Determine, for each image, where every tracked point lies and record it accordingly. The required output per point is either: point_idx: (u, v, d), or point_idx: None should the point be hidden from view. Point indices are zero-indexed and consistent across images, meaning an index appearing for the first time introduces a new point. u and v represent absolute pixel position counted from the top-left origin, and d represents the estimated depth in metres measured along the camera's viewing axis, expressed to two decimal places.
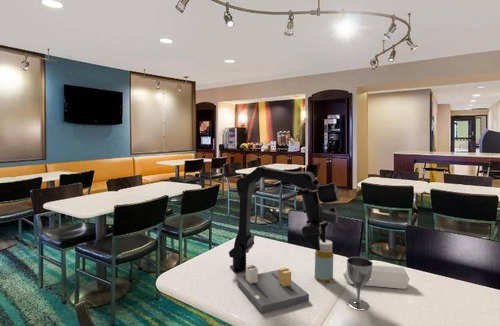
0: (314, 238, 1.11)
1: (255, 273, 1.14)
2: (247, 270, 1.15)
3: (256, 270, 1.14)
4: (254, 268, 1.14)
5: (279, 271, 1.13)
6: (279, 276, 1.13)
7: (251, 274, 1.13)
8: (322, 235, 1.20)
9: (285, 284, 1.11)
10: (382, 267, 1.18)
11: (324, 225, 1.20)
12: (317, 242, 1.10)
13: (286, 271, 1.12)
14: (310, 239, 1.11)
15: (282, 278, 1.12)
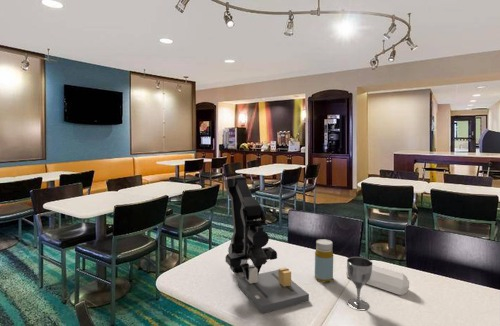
0: (244, 267, 1.14)
1: (255, 273, 1.14)
2: None
3: (256, 270, 1.14)
4: (254, 268, 1.14)
5: (279, 271, 1.13)
6: (279, 276, 1.13)
7: (251, 274, 1.13)
8: None
9: (285, 284, 1.11)
10: (380, 268, 1.17)
11: None
12: (245, 272, 1.14)
13: (286, 271, 1.12)
14: (242, 266, 1.15)
15: (282, 278, 1.12)
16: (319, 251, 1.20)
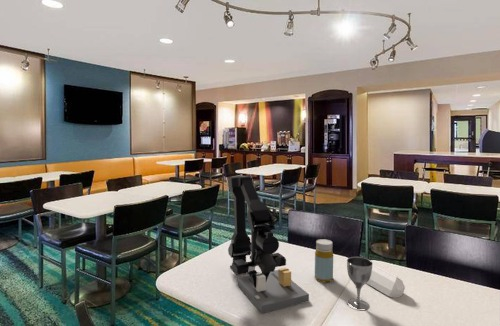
0: None
1: (263, 281, 1.08)
2: None
3: (264, 277, 1.08)
4: (262, 275, 1.09)
5: (279, 271, 1.13)
6: (279, 276, 1.13)
7: (258, 282, 1.07)
8: None
9: (285, 284, 1.11)
10: (378, 269, 1.17)
11: None
12: (252, 279, 1.08)
13: (286, 271, 1.12)
14: (249, 273, 1.09)
15: (282, 278, 1.12)
16: (319, 251, 1.20)
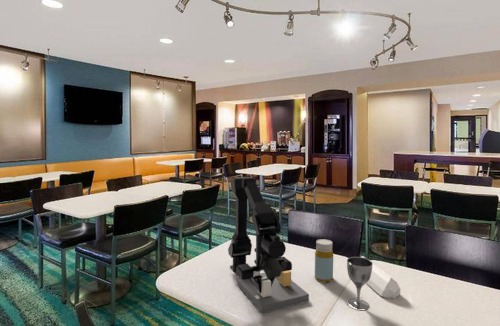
0: None
1: (268, 286, 1.04)
2: None
3: (269, 282, 1.04)
4: (267, 280, 1.05)
5: None
6: (279, 276, 1.13)
7: (264, 287, 1.04)
8: None
9: (285, 284, 1.11)
10: (377, 269, 1.17)
11: None
12: (257, 285, 1.04)
13: (286, 271, 1.12)
14: None
15: (282, 278, 1.12)
16: (319, 251, 1.20)
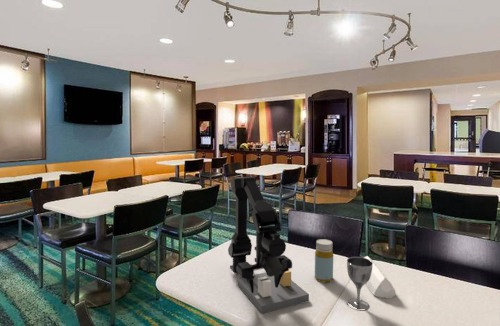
0: None
1: (268, 286, 1.04)
2: (259, 282, 1.06)
3: (269, 283, 1.04)
4: (267, 280, 1.05)
5: None
6: None
7: (264, 287, 1.04)
8: (275, 279, 1.08)
9: (285, 284, 1.11)
10: (375, 269, 1.17)
11: None
12: (249, 285, 1.03)
13: (286, 271, 1.12)
14: None
15: (282, 278, 1.12)
16: (319, 251, 1.20)
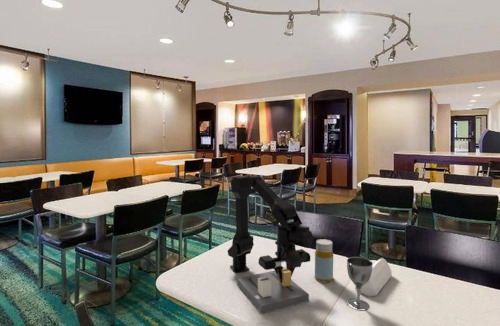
0: (277, 270, 1.12)
1: (268, 286, 1.04)
2: (259, 282, 1.06)
3: (269, 283, 1.04)
4: (267, 280, 1.05)
5: None
6: None
7: (264, 287, 1.04)
8: None
9: (285, 284, 1.11)
10: None
11: None
12: (278, 275, 1.11)
13: (286, 271, 1.12)
14: (274, 269, 1.13)
15: (282, 278, 1.12)
16: (319, 251, 1.20)
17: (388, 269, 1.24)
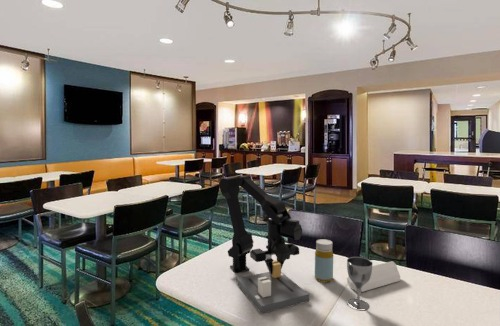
0: (268, 262, 1.19)
1: (268, 286, 1.04)
2: (259, 282, 1.06)
3: (269, 283, 1.04)
4: (267, 280, 1.05)
5: None
6: None
7: (264, 287, 1.04)
8: None
9: (275, 275, 1.18)
10: None
11: None
12: (269, 267, 1.18)
13: (276, 263, 1.19)
14: (265, 261, 1.20)
15: (272, 270, 1.18)
16: (319, 251, 1.20)
17: (395, 273, 1.20)
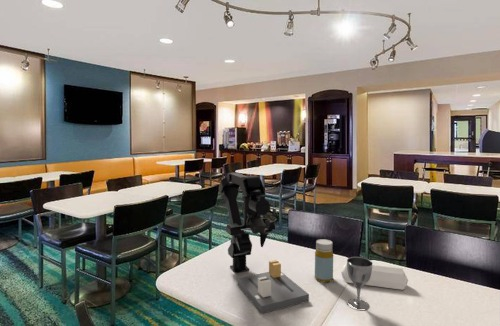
0: (237, 238, 1.17)
1: (268, 286, 1.04)
2: (259, 282, 1.06)
3: (269, 283, 1.04)
4: (267, 280, 1.05)
5: (269, 263, 1.20)
6: (270, 268, 1.20)
7: (264, 287, 1.04)
8: (261, 239, 1.22)
9: (275, 275, 1.18)
10: None
11: (264, 231, 1.20)
12: (237, 243, 1.17)
13: (276, 263, 1.19)
14: (234, 237, 1.19)
15: (272, 270, 1.18)
16: (319, 251, 1.20)
17: (397, 280, 1.14)
